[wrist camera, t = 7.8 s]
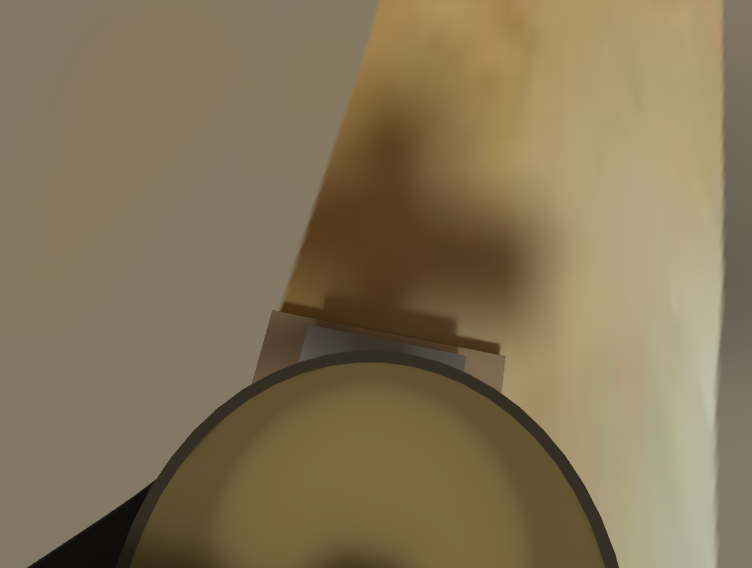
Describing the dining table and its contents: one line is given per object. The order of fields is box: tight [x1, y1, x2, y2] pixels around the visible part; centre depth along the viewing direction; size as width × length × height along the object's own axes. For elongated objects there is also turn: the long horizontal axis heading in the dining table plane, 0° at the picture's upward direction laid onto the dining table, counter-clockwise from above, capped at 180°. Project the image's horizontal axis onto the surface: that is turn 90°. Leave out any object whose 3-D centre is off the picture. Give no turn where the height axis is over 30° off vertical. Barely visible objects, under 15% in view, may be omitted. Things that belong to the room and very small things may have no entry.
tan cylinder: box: [116, 351, 619, 568], centre depth 9 cm, size 4×4×13 cm
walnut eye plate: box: [252, 310, 505, 393], centre depth 19 cm, size 20×14×3 cm
